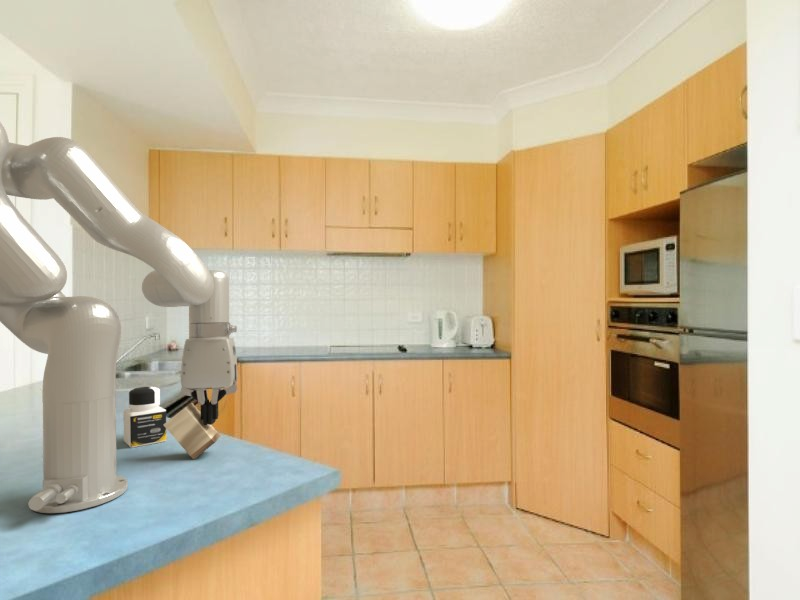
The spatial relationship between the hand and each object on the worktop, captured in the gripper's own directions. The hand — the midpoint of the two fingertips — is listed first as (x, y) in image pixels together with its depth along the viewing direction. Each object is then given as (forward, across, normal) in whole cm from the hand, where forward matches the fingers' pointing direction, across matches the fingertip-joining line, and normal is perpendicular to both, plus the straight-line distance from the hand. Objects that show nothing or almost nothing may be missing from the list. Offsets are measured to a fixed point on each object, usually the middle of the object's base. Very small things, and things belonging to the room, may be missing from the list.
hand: (209, 423), depth 93 cm
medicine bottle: (+7, +17, -13) cm, 23 cm away
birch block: (+5, 0, 0) cm, 5 cm away
